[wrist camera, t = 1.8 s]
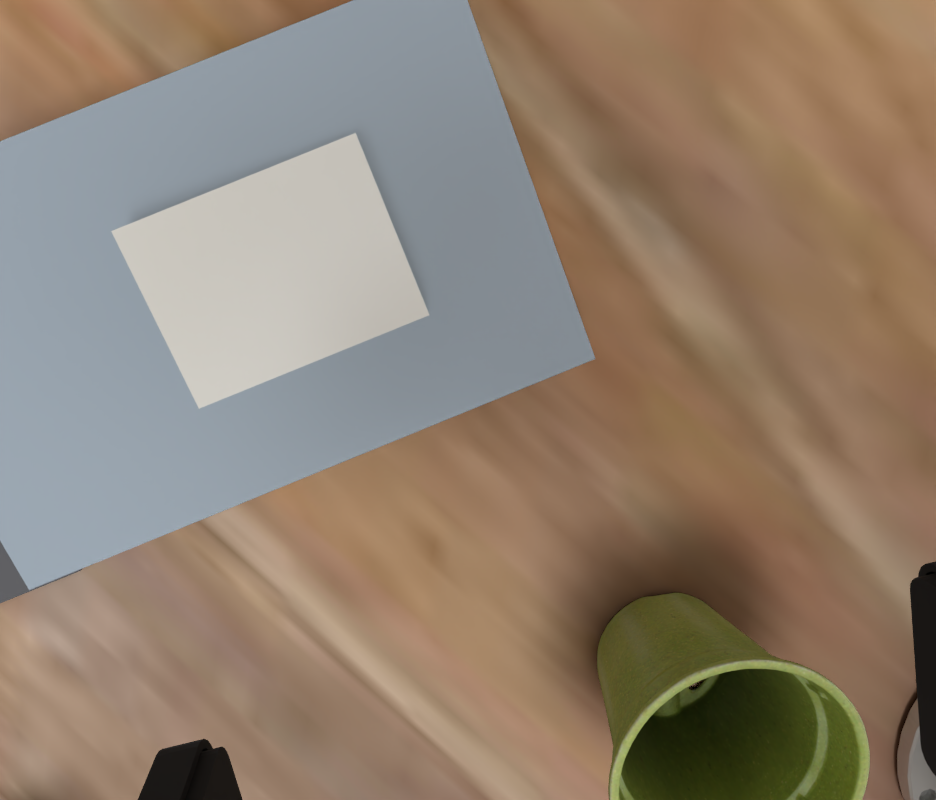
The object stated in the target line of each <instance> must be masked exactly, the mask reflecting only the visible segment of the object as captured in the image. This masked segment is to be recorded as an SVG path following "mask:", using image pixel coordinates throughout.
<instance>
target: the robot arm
mask: <svg viewBox="0 0 936 800" xmlns="http://www.w3.org/2000/svg"><path fill="white" fill-rule="evenodd" d="M910 595H911V610H912V624H913V639H914V654H915V669H916V683H917V699H916V701H915V703H914V704H913V706H912V708H911V709H910V711H909V714H908V717H907V719H906V722H905V724H904V727H903V729H902V732H901V737H900V742H899V748H898V753H897V772H898V779H899V784H900V788H901V792H902V796H903V798H904V800H936V562H932V563H928V564H925V565H923V566H922V567H921V569H920V571H919V575H918V577H917V578H915V579H913V580H912V582H911V585H910ZM138 800H242V797H241V794H240V791H239V787H238V784H237V781H236V778H235V775H234V771H233V768H232V765H231V762H230V759H229V756H228V753H227V751H226V750H225V748H223V747H219V748H215V749H213V748H212V746H211V744H210V743H209V741H208V740H206V739H202V740H198V741H194V742H190V743H185V744H181V745H177V746H173V747H169V748H165V749H162V750H160V751H159V752H158V754H157V755H156V757H155V760H154V762H153V764H152V767H151V769H150V772H149V774H148V777H147V779H146V781H145V784H144V786H143V789H142V791H141V793H140V796H139V798H138Z"/></svg>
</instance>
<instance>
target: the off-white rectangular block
mask: <svg viewBox="0 0 936 800" xmlns="http://www.w3.org/2000/svg"><path fill="white" fill-rule="evenodd" d="M111 232H112V234H113V236H114V238H115V240H116V242H117V244H118V246H119V248H120V250H121V252H122V254H123V256H124V258H125V260H126V262H127V264H128V266H129V268H130V270H131V272H132V275H133V277H134V279H135V281H136V283H137V285H138V287H139V289H140V291H141V293H142V295H143V297H144V299H145V301H146V303H147V305H148V307H149V309H150V311H151V313H152V315H153V317H154V319H155V321H156V323H157V325H158V327H159V329H160V331H161V333H162V335H163V337H164V339H165V341H166V343H167V345H168V347H169V349H170V351H171V353H172V355H173V357H174V359H175V361H176V363H177V365H178V367H179V370H180V372H181V374H182V376H183V378H184V380H185V382H186V384H187V386H188V388H189V390H190V392H191V394H192V396H193V398H194V400H195V402H196V404H197V406H198V408H199V409H200V408H202V407H205V406H207V405H210V404H212V403H214V402H217V401H219V400H222V399H224V398H227V397H229V396H232V395H234V394H237V393H239V392H242V391H244V390H246V389H249V388H251V387H254V386H256V385H259V384H261V383H264V382H266V381H269V380H271V379H274V378H276V377H278V376H281V375H283V374H286V373H288V372H291V371H293V370H296V369H298V368H301V367H303V366H306V365H308V364H310V363H313V362H315V361H318V360H320V359H323V358H325V357H328V356H330V355H333V354H335V353H338V352H340V351H342V350H345V349H347V348H350V347H352V346H355V345H357V344H360V343H362V342H365V341H367V340H370V339H372V338H374V337H377V336H379V335H382V334H384V333H387V332H389V331H392V330H394V329H397V328H399V327H402V326H404V325H406V324H409V323H411V322H414V321H416V320H419V319H421V318H424V317H426V316H429V313H428V310H427V308H426V305H425V303H424V300H423V298H422V295H421V293H420V290H419V288H418V285H417V283H416V280H415V278H414V276H413V273H412V271H411V268H410V266H409V263H408V261H407V258H406V256H405V253H404V251H403V248H402V246H401V243H400V241H399V239H398V236H397V234H396V231H395V229H394V226H393V224H392V221H391V219H390V216H389V214H388V211H387V209H386V206H385V204H384V202H383V199H382V197H381V194H380V192H379V189H378V187H377V184H376V182H375V179H374V177H373V174H372V172H371V169H370V167H369V165H368V162H367V160H366V157H365V155H364V152H363V150H362V147H361V145H360V142H359V140H358V137H357V135H356V133H354V134H351V135H349V136H346V137H344V138H341V139H339V140H337V141H334V142H332V143H329V144H327V145H324V146H322V147H319V148H317V149H314V150H312V151H309V152H307V153H304V154H302V155H299V156H297V157H294V158H292V159H289V160H287V161H284V162H282V163H279V164H277V165H274V166H272V167H269V168H267V169H264V170H262V171H259V172H257V173H254V174H252V175H249V176H247V177H245V178H242V179H240V180H237V181H235V182H232V183H230V184H227V185H225V186H222V187H220V188H217V189H215V190H212V191H210V192H207V193H205V194H202V195H200V196H197V197H195V198H192V199H190V200H187V201H185V202H182V203H180V204H177V205H175V206H172V207H170V208H167V209H165V210H162V211H160V212H157V213H155V214H153V215H150V216H148V217H145V218H143V219H140V220H138V221H135V222H133V223H130V224H128V225H125V226H123V227H120V228H118V229H115V230H113V231H111Z"/></svg>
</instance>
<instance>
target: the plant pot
mask: <svg viewBox="0 0 936 800" xmlns="http://www.w3.org/2000/svg"><path fill="white" fill-rule="evenodd" d="M597 670H598V676H599V680H600V685H601V690H602V694H603V698H604V703H605V707H606V712H607V717H608V722H609V726H610V731H611V736H612V741H613V755H612V765H611V769H610V775H609V787H608V789H609V800H862V798H863V795H864V793H865V790H866V786H867V780H868V775H869V767H870V752H869V744H868V738H867V734H866V730H865V727H864V724H863V722H862V719H861V717H860V715H859V713H858V712H857V710H856V708H855V707H854V705H853V704H852V703H851V701H850V700H849V699H848V698H847V696H846V695H845V694H844V693H843V692H842V691H841V690H840V689H839V688H838V687H837V686H835V685H834V684H833V683H832V682H831V681H830V680H828V679H827V678H826V677H824V676H823V675H821V674H819V673H818V672H816V671H814V670H812V669H810V668H808V667H805V666H803V665H800V664H797V663H794V662H791V661H787V660H782V659H779V658H777V657H774V656H772V655H770V654H769V653H768V652H766V651H765V650H764V649H763V648H761V647H760V646H759V645H758V644H756V643H755V642H754V641H753V640H751V639H750V638H749V637H748V636H746V635H745V634H744V633H742V632H741V631H740V630H738V629H737V628H736V627H735V626H733V625H732V624H731V623H730V622H728V621H727V620H726V619H725V618H723V617H722V616H721V615H720V614H718V613H717V612H716V611H715V610H713V609H712V608H711V607H710V606H708V605H707V604H706V603H704V602H703V601H701V600H699V599H697V598H695V597H693V596H690V595H687V594H683V593H670V594H663V595H657V596H649V597H642V598H640V599H637V600H635V601H633V602H632V603H630V604H628V605H627V606H625V607H624V608H623V609H622V610H620V611H619V612H618V613H617V614H616V615H615V616H614V617H613V618H612V620H611V621H610V622H609V624H608V625H607V627H606V628H605V630H604V632H603V634H602V636H601V638H600V641H599V645H598V652H597ZM703 679H705V680H704V681H703V682H702V683H701V684H700V685H699V686H698V687H697V688H696V689H693V690H690V689H689V687H690V685H692V684H694V683H696V682H698V681H701V680H703Z"/></svg>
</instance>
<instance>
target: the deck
mask: <svg viewBox="0 0 936 800" xmlns="http://www.w3.org/2000/svg"><path fill="white" fill-rule="evenodd" d="M354 133H356V135H357V137H358V140H359V142H360V145H361V147H362V150H363V152H364V155H365V157H366V160H367V162H368V165H369V167H370V169H371V172H372V174H373V177H374V179H375V182H376V184H377V187H378V189H379V192H380V194H381V197H382V199H383V202H384V204H385V206H386V209H387V211H388V214H389V216H390V219H391V221H392V224H393V226H394V229H395V231H396V234H397V236H398V239H399V241H400V243H401V246H402V248H403V251H404V253H405V256H406V258H407V261H408V263H409V266H410V268H411V271H412V273H413V276H414V278H415V280H416V283H417V285H418V288H419V290H420V293H421V295H422V298H423V300H424V303H425V305H426V308H427V310H428V313H429V316H426V317H424V318H421V319H419V320H416V321H414V322H411V323H409V324H406V325H404V326H402V327H399V328H397V329H394V330H392V331H389V332H387V333H384V334H382V335H379V336H377V337H374V338H372V339H370V340H367V341H365V342H362V343H360V344H357V345H355V346H352V347H350V348H347V349H345V350H342V351H340V352H338V353H335V354H333V355H330V356H328V357H325V358H323V359H320V360H318V361H315V362H313V363H310V364H308V365H306V366H303V367H301V368H298V369H296V370H293V371H291V372H288V373H286V374H283V375H281V376H278V377H276V378H274V379H271V380H269V381H266V382H264V383H261V384H259V385H256V386H254V387H251V388H249V389H246V390H244V391H242V392H239V393H237V394H234V395H232V396H229V397H227V398H224V399H222V400H219V401H217V402H214V403H212V404H210V405H207V406H205V407H202V408H200V409H199V408H198V406H197V404H196V402H195V400H194V398H193V396H192V394H191V392H190V390H189V388H188V386H187V384H186V382H185V380H184V378H183V376H182V374H181V372H180V370H179V367H178V365H177V363H176V361H175V359H174V357H173V355H172V353H171V351H170V349H169V347H168V345H167V343H166V341H165V339H164V337H163V335H162V333H161V331H160V329H159V327H158V325H157V323H156V321H155V319H154V317H153V315H152V313H151V311H150V309H149V307H148V305H147V303H146V301H145V299H144V297H143V295H142V293H141V291H140V289H139V287H138V285H137V283H136V281H135V279H134V277H133V275H132V272H131V270H130V268H129V266H128V264H127V262H126V260H125V258H124V256H123V254H122V252H121V250H120V248H119V246H118V244H117V242H116V240H115V238H114V236H113V234H112V232H111V231H113V230H115V229H118V228H120V227H123V226H125V225H128V224H130V223H133V222H135V221H138V220H140V219H143V218H145V217H148V216H150V215H153V214H155V213H157V212H160V211H162V210H165V209H167V208H170V207H172V206H175V205H177V204H180V203H182V202H185V201H187V200H190V199H192V198H195V197H197V196H200V195H202V194H205V193H207V192H210V191H212V190H215V189H217V188H220V187H222V186H225V185H227V184H230V183H232V182H235V181H237V180H240V179H242V178H245V177H247V176H249V175H252V174H254V173H257V172H259V171H262V170H264V169H267V168H269V167H272V166H274V165H277V164H279V163H282V162H284V161H287V160H289V159H292V158H294V157H297V156H299V155H302V154H304V153H307V152H309V151H312V150H314V149H317V148H319V147H322V146H324V145H327V144H329V143H332V142H334V141H337V140H339V139H341V138H344V137H346V136H349V135H351V134H354ZM594 359H595V356H594V353H593V351H592V348H591V345H590V342H589V339H588V337H587V334H586V331H585V328H584V325H583V323H582V320H581V317H580V314H579V311H578V309H577V306H576V303H575V300H574V297H573V295H572V292H571V289H570V286H569V283H568V281H567V278H566V275H565V272H564V269H563V267H562V264H561V261H560V258H559V255H558V253H557V250H556V247H555V244H554V241H553V239H552V236H551V233H550V230H549V227H548V225H547V222H546V219H545V216H544V214H543V211H542V208H541V205H540V202H539V200H538V197H537V194H536V191H535V188H534V186H533V183H532V180H531V177H530V174H529V172H528V169H527V166H526V163H525V160H524V158H523V155H522V152H521V149H520V146H519V144H518V141H517V138H516V135H515V132H514V130H513V127H512V124H511V121H510V118H509V116H508V113H507V110H506V107H505V104H504V102H503V99H502V96H501V93H500V90H499V88H498V85H497V82H496V79H495V76H494V74H493V71H492V68H491V65H490V62H489V60H488V57H487V54H486V51H485V48H484V46H483V43H482V40H481V37H480V34H479V32H478V29H477V26H476V23H475V20H474V18H473V15H472V12H471V9H470V6H469V4H468V1H467V0H353V1H350V2H348V3H345V4H343V5H340V6H338V7H335V8H333V9H330V10H328V11H325V12H323V13H320V14H318V15H315V16H313V17H310V18H308V19H305V20H303V21H300V22H298V23H295V24H293V25H290V26H288V27H285V28H283V29H280V30H278V31H275V32H273V33H270V34H268V35H265V36H263V37H260V38H258V39H255V40H253V41H250V42H248V43H245V44H243V45H240V46H238V47H235V48H233V49H230V50H228V51H225V52H223V53H220V54H218V55H215V56H213V57H210V58H208V59H205V60H203V61H200V62H198V63H195V64H193V65H190V66H188V67H185V68H183V69H180V70H178V71H175V72H173V73H170V74H168V75H165V76H163V77H160V78H158V79H155V80H153V81H150V82H148V83H145V84H143V85H140V86H138V87H135V88H133V89H130V90H128V91H125V92H123V93H120V94H118V95H115V96H113V97H110V98H108V99H105V100H103V101H100V102H98V103H95V104H93V105H90V106H88V107H85V108H83V109H80V110H78V111H75V112H72V113H70V114H67V115H65V116H62V117H60V118H57V119H55V120H52V121H50V122H47V123H45V124H42V125H40V126H37V127H35V128H32V129H30V130H27V131H25V132H22V133H20V134H17V135H15V136H12V137H10V138H7V139H5V140H2V141H0V541H1V543H2V545H3V546H4V548H5V550H6V551H7V553H8V555H9V557H10V558H11V560H12V562H13V563H14V565H15V567H16V569H17V570H18V572H19V574H20V575H21V577H22V579H23V580H24V582H25V584H26V586H27V587H28V589H29V590H31V589H33V588H35V587H38V586H40V585H43V584H45V583H48V582H50V581H53V580H55V579H58V578H60V577H62V576H65V575H67V574H70V573H72V572H75V571H77V570H80V569H82V568H84V567H87V566H89V565H92V564H94V563H97V562H99V561H102V560H104V559H106V558H109V557H111V556H114V555H116V554H119V553H121V552H124V551H126V550H129V549H131V548H133V547H136V546H138V545H141V544H143V543H146V542H148V541H151V540H153V539H155V538H158V537H160V536H163V535H165V534H168V533H170V532H173V531H175V530H177V529H180V528H182V527H185V526H187V525H190V524H192V523H195V522H197V521H200V520H202V519H204V518H207V517H209V516H212V515H214V514H217V513H219V512H222V511H224V510H226V509H229V508H231V507H234V506H236V505H239V504H241V503H244V502H246V501H248V500H251V499H253V498H256V497H258V496H261V495H263V494H266V493H268V492H271V491H273V490H275V489H278V488H280V487H283V486H285V485H288V484H290V483H293V482H295V481H297V480H300V479H302V478H305V477H307V476H310V475H312V474H315V473H317V472H319V471H322V470H324V469H327V468H329V467H332V466H334V465H337V464H339V463H342V462H344V461H346V460H349V459H351V458H354V457H356V456H359V455H361V454H364V453H366V452H368V451H371V450H373V449H376V448H378V447H381V446H383V445H386V444H388V443H390V442H393V441H395V440H398V439H400V438H403V437H405V436H408V435H410V434H413V433H415V432H417V431H420V430H422V429H425V428H427V427H430V426H432V425H435V424H437V423H439V422H442V421H444V420H447V419H449V418H452V417H454V416H457V415H459V414H462V413H464V412H466V411H469V410H471V409H474V408H476V407H479V406H481V405H484V404H486V403H488V402H491V401H493V400H496V399H498V398H501V397H503V396H506V395H508V394H510V393H513V392H515V391H518V390H520V389H523V388H525V387H528V386H530V385H533V384H535V383H537V382H540V381H542V380H545V379H547V378H550V377H552V376H555V375H557V374H559V373H562V372H564V371H567V370H569V369H572V368H574V367H577V366H579V365H581V364H584V363H586V362H589V361H591V360H594Z"/></svg>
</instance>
